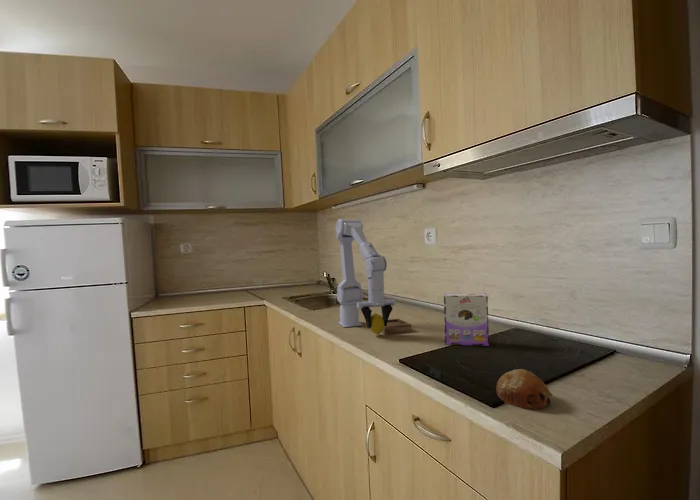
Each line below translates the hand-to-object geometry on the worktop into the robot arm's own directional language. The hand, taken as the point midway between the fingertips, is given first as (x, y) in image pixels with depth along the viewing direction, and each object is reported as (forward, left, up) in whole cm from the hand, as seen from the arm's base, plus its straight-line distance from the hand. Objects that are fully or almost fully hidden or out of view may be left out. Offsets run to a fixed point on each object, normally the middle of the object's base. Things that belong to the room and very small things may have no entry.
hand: (376, 326), depth 132 cm
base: (-6, +9, -3) cm, 11 cm away
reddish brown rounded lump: (+61, +7, -4) cm, 62 cm away
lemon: (0, +1, -3) cm, 3 cm away
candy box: (+21, +23, -4) cm, 31 cm away
